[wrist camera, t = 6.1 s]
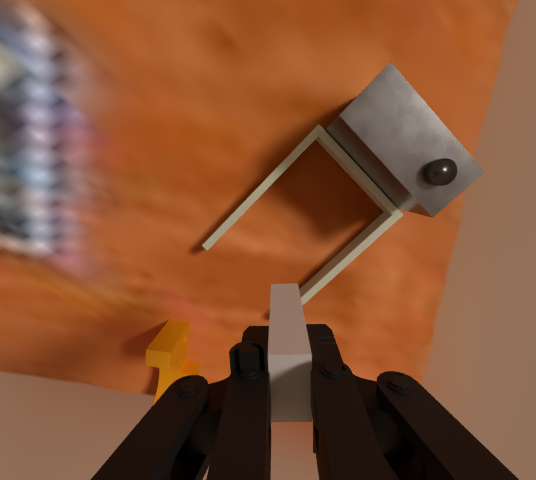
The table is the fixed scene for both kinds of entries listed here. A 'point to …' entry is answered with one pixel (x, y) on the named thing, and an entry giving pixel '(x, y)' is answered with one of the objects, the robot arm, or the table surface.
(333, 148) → the frame
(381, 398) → the robot arm
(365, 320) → the table surface
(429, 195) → the unit housing
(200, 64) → the table surface
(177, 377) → the pipe clamp
